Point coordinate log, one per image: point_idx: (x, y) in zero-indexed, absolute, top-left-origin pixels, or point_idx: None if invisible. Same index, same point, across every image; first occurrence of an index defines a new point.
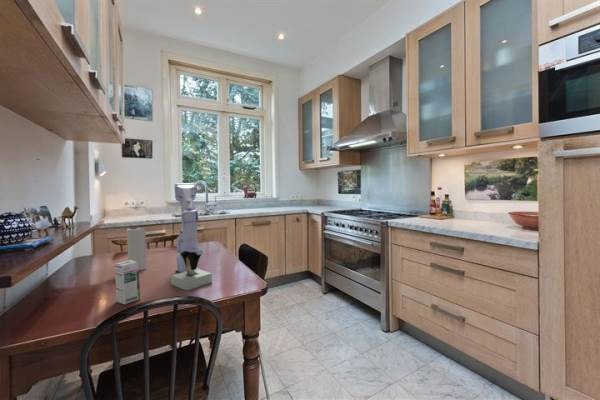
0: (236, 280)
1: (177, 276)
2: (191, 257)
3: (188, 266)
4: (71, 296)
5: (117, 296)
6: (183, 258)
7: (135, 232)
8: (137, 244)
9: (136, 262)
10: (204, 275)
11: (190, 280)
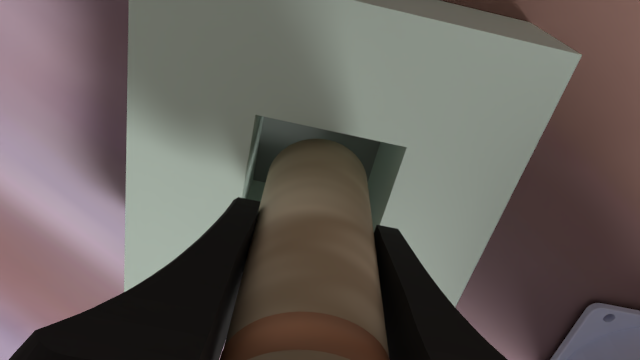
0: (12, 323)
1: (439, 53)
2: (45, 338)
3: (291, 217)
4: None
5: None
6: (479, 346)
7: None
8: None
9: None
10: (125, 218)
11: (132, 18)
